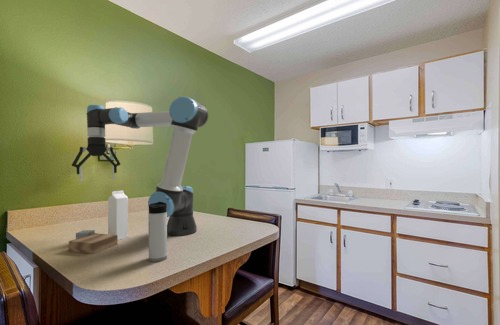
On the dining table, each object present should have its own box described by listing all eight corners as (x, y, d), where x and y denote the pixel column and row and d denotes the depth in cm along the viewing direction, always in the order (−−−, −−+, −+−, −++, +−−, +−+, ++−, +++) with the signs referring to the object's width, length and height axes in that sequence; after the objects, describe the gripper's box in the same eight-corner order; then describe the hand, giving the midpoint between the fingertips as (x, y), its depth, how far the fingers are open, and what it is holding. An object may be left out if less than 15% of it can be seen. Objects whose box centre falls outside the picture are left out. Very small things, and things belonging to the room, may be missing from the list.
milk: (107, 239, 116) (107, 191, 116) (119, 235, 121) (119, 189, 122) (116, 240, 113) (116, 191, 114) (128, 237, 119) (128, 190, 119)
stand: (117, 244, 108) (117, 235, 108) (93, 253, 96) (93, 243, 96) (94, 242, 111) (94, 233, 111) (68, 251, 99) (68, 241, 99)
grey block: (94, 241, 113) (94, 230, 113) (87, 244, 108) (87, 233, 108) (83, 241, 113) (83, 230, 113) (75, 244, 108) (75, 233, 108)
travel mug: (169, 254, 95) (169, 201, 95) (164, 261, 88) (163, 204, 88) (152, 255, 94) (152, 201, 95) (145, 262, 88) (145, 204, 88)
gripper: (124, 138, 133) (125, 179, 133) (66, 137, 121) (67, 181, 121) (125, 137, 127) (126, 179, 126) (63, 135, 114) (65, 182, 114)
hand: (97, 180), depth 123 cm, fingers open, 13 cm apart
